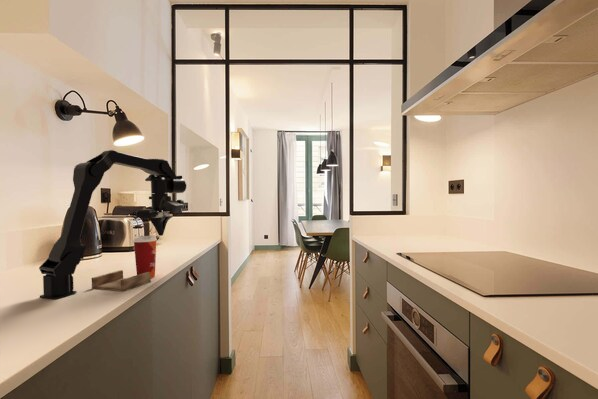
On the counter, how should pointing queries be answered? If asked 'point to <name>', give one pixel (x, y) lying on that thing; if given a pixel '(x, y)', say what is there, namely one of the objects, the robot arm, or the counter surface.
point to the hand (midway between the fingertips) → (161, 235)
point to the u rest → (119, 281)
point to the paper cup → (145, 254)
